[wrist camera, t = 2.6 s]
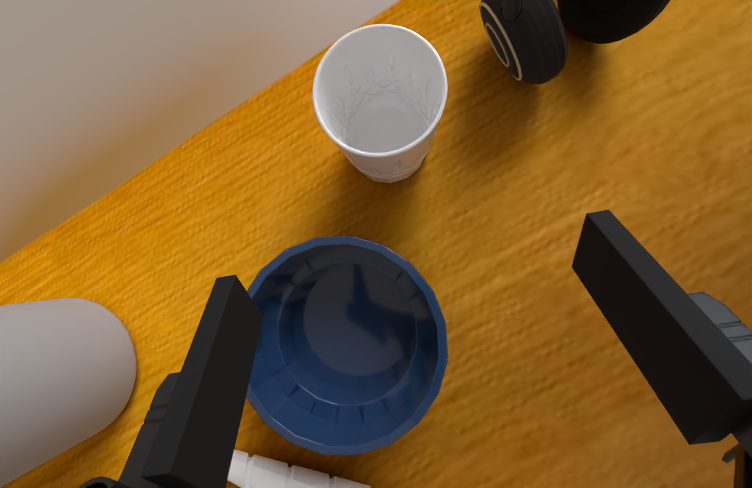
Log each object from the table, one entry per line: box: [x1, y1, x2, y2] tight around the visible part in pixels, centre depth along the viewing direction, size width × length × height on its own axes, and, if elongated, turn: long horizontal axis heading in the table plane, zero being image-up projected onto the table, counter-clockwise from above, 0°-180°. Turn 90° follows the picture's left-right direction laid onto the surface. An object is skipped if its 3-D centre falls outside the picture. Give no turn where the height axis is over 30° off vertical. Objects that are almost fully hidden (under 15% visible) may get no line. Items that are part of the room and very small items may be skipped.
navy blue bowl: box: [246, 236, 448, 455], centre depth 26 cm, size 14×14×7 cm
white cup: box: [312, 24, 447, 183], centre depth 25 cm, size 8×8×10 cm
